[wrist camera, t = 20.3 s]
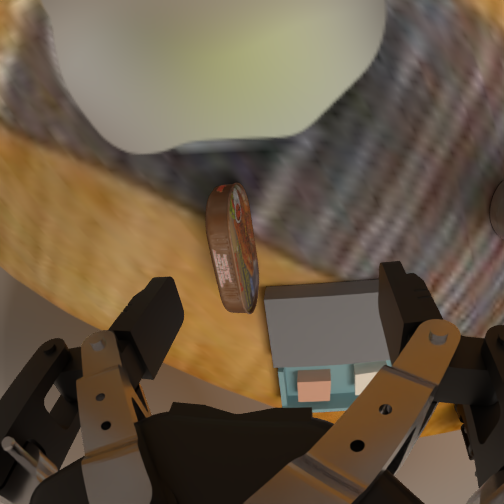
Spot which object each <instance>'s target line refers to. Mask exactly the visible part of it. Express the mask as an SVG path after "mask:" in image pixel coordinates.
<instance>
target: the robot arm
mask: <svg viewBox="0 0 504 504" xmlns="http://www.w3.org/2000/svg"><path fill="white" fill-rule="evenodd" d="M490 219H491V224H492V227H493V229H494V231H495V232H496V233H497V234H498V235H499V236H500V237H501V238H502V239H503V240H504V181H502V182H501V184H500V185H499V186H498V188H497V189H496V191H495V193H494V195H493V198H492V201H491V207H490ZM378 309H379V316H380V319H381V323H382V327H383V331H384V335H385V339H386V343H387V348H388V352H389V356H390V361H391V365H392V366H391V367H390V366H388V365H384V366H383V367H382V368H381V369H380V370H379V371H378V372H377V374H376V375H375V376H374V378H373V379H372V380H371V381H370V383H369V384H368V385H367V386H366V388H365V389H364V390H363V391H362V392H361V394H360V395H359V396H358V397H357V398H356V400H355V401H354V402H353V403H352V404H351V406H350V407H349V408H348V409H347V410H346V411H345V413H344V414H343V415H342V416H341V417H340V418H339V419H338V420H337V422H336V423H335V424H333V423H331V422H328V421H325V420H322V419H318V418H313V417H312V407H300V408H272V409H266V410H261V411H255V412H250V413H243V414H233V413H230V412H226V411H223V410H219V409H216V408H213V407H209V406H206V405H199V404H188V403H177V402H173V403H172V406H171V409H170V411H169V412H164V413H159V414H155V415H152V414H151V411H150V408H149V406H148V403H147V400H146V397H145V394H144V391H143V389H142V386H141V385H140V383H139V382H140V380H141V379H151V380H153V379H154V378H155V376H156V374H157V372H158V370H159V368H160V366H161V364H162V363H163V361H164V359H165V357H166V355H167V353H168V351H169V349H170V347H171V345H172V343H173V341H174V339H175V337H176V335H177V333H178V331H179V329H180V327H181V325H182V323H183V320H184V310H183V306H182V303H181V300H180V297H179V294H178V291H177V288H176V285H175V282H174V279H173V278H172V277H155V278H153V279H152V280H151V281H150V282H149V284H148V285H147V286H146V287H145V289H144V290H142V291H141V292H139V293H138V294H137V295H135V296H134V297H133V298H132V299H131V301H130V302H129V303H128V306H126V307H125V309H124V310H123V312H121V314H120V315H119V316H118V318H117V319H116V320H115V322H114V323H113V324H112V326H111V327H110V328H109V330H102V331H98V332H95V333H93V334H91V335H90V336H89V337H87V338H86V339H85V340H84V341H83V343H82V345H81V347H77V348H71V349H68V347H67V345H66V344H65V342H64V340H63V339H60V338H55V339H51V340H49V341H47V342H45V343H44V344H42V345H41V346H40V347H39V348H38V350H37V351H36V352H35V354H34V355H33V356H32V358H31V359H30V360H29V361H28V363H27V364H26V365H25V367H24V368H23V369H22V371H21V372H20V373H19V374H18V376H17V377H16V379H15V380H14V381H13V383H12V384H11V385H10V387H9V388H8V390H7V391H6V392H5V394H4V395H3V397H2V398H1V400H0V502H2V503H3V504H424V503H423V502H422V501H421V500H420V499H419V498H418V497H416V496H415V495H414V494H413V493H412V492H411V491H410V490H409V489H407V488H406V487H405V486H404V485H403V484H402V483H401V482H400V481H399V480H398V479H397V478H396V477H395V475H396V474H397V472H398V471H399V469H400V468H401V466H402V465H403V463H404V462H405V460H406V458H407V457H408V455H409V453H410V452H411V450H412V448H413V446H414V444H415V443H416V441H417V439H418V438H419V436H420V434H421V433H422V431H423V429H424V428H425V426H426V424H427V423H428V421H429V419H430V417H431V416H432V414H433V412H434V410H435V408H436V406H437V405H438V403H439V402H444V403H454V404H463V408H464V412H465V416H466V421H467V425H468V430H469V434H470V439H471V444H472V449H473V454H474V460H475V466H476V472H477V478H478V486H479V489H478V490H477V491H476V492H475V493H474V494H473V495H472V496H471V497H470V498H469V500H468V501H467V503H466V504H504V325H497V326H493V327H491V328H490V329H489V330H488V331H487V333H486V335H485V338H474V337H465V336H461V335H460V332H459V330H458V328H457V327H456V326H455V325H454V324H452V323H450V322H448V321H446V320H443V318H442V316H441V314H440V312H439V310H438V308H437V306H436V304H435V302H434V300H433V298H432V297H431V294H430V292H429V290H428V288H427V286H426V284H425V283H424V281H423V280H422V279H421V278H420V277H418V276H417V275H416V274H414V273H410V274H406V272H405V270H404V268H403V266H402V264H401V262H400V261H395V262H383V263H380V266H379V289H378ZM53 384H54V385H55V386H56V388H57V389H58V391H59V392H60V393H61V395H60V397H59V399H58V400H57V402H56V403H55V405H54V407H53V408H52V410H51V412H50V413H48V411H47V410H46V408H45V406H44V398H45V396H46V394H47V393H48V391H49V390H50V388H51V387H52V385H53ZM80 427H81V432H82V439H83V445H84V452H85V456H83V457H82V458H80V459H78V460H77V461H75V462H73V463H71V464H70V465H68V466H66V467H65V468H63V469H61V470H60V467H61V465H62V463H63V461H64V459H65V457H66V455H67V453H68V451H69V449H70V447H71V445H72V443H73V441H74V439H75V437H76V435H77V433H78V431H79V429H80Z"/></svg>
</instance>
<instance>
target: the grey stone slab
mask: <svg viewBox="0 0 504 504" xmlns="http://www.w3.org/2000/svg"><path fill="white" fill-rule="evenodd" d="M378 289H379V279H375V280H362V281H349V282H335V283H320V284H304V285H288V286H270V287H266V290H265V296H264V304H265V311H266V318H267V325H268V332H269V338H270V345H271V352H272V359H273V366H274V368H282V367H310V366H328V365H343V364H355V363H367V362H377V361H386V360H390V356H389V352H388V348H387V343H386V339H385V335H384V331H383V327H382V323H381V319H380V316H379V309H378Z"/></svg>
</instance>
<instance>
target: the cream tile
mask: <svg viewBox="0 0 504 504" xmlns="http://www.w3.org/2000/svg"><path fill="white" fill-rule="evenodd" d="M384 365H387V363H386V361H377V362H367V363H355V364H354V389H355V395H360V394H361V392H362V391H363V390H364V389H365V388H366V386H367V385H368V384H369V383H370V381H371V380H372V379H373V378H374V376H375V375H376V374H377V372H378V371H379V370H380V369H381V368H382V367H383V366H384Z"/></svg>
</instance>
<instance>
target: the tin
mask: <svg viewBox="0 0 504 504" xmlns="http://www.w3.org/2000/svg"><path fill="white" fill-rule="evenodd" d="M206 233H207V239H208V244H209V248H210V253H211V258H212V262H213V267H214V271H215V276H216V280H217V284H218V288H219V293H220V297H221V300H222V303H223V305H224V307H225V308H226V310H227V311H229V312H233V313H248V314H251V313H253V311H254V309H255V307H256V303H257V298H258V288H259V268H258V260H257V253H256V247H255V240H254V233H253V227H252V220H251V213H250V207H249V202H248V198H247V195H246V192H245V190H244V188H243V186H242V185H241V184H240V183H234V184H229V185H220V186H217V187H215V188H214V190H213V191H212V193H211V194H210V196H209V198H208V201H207V206H206Z"/></svg>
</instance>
